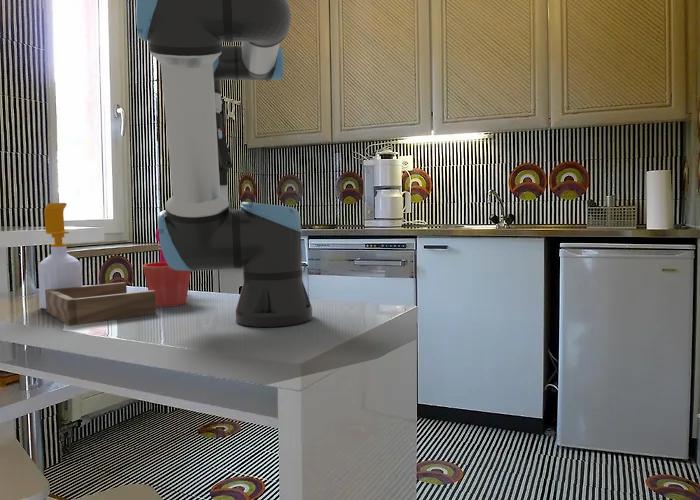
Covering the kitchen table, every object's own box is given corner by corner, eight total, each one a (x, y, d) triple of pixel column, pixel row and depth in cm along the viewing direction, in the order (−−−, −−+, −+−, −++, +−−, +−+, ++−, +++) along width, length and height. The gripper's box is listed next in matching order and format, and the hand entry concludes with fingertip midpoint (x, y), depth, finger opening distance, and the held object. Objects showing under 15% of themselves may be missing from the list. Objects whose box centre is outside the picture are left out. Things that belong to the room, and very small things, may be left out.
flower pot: (193, 306, 137) (191, 264, 136) (143, 309, 134) (141, 266, 133) (192, 299, 147) (190, 260, 146) (146, 302, 144) (144, 262, 143)
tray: (156, 313, 128) (155, 290, 127) (69, 325, 117) (67, 300, 117) (125, 302, 144) (124, 282, 144) (46, 311, 134) (45, 289, 133)
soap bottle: (45, 311, 134) (39, 203, 132) (37, 306, 141) (30, 203, 139) (87, 306, 140) (81, 202, 138) (77, 302, 147) (71, 203, 145)
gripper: (244, 106, 137) (248, 198, 138) (198, 120, 156) (202, 201, 158) (215, 103, 132) (218, 199, 134) (171, 118, 151) (175, 201, 153)
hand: (209, 200), depth 146 cm, fingers open, 12 cm apart
